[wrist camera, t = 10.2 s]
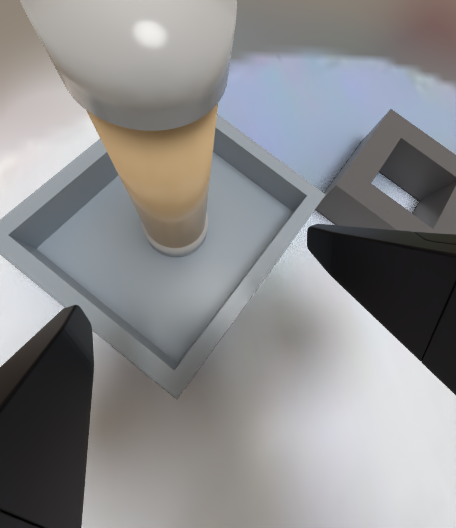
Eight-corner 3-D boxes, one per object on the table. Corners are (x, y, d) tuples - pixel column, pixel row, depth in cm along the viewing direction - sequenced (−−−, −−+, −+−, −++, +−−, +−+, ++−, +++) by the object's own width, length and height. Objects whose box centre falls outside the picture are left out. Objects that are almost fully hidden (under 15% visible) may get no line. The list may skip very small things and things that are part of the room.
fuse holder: (404, 276, 20) (446, 266, 17) (313, 207, 21) (335, 185, 17) (444, 199, 23) (487, 177, 20) (362, 140, 23) (390, 108, 20)
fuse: (204, 260, 17) (231, 88, 5) (140, 253, 17) (-15, 42, 4) (209, 205, 18) (241, -51, 6) (150, 197, 18) (49, -100, 5)
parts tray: (180, 384, 16) (176, 399, 13) (22, 254, 17) (-21, 236, 13) (304, 216, 20) (325, 194, 17) (175, 119, 21) (171, 80, 18)
